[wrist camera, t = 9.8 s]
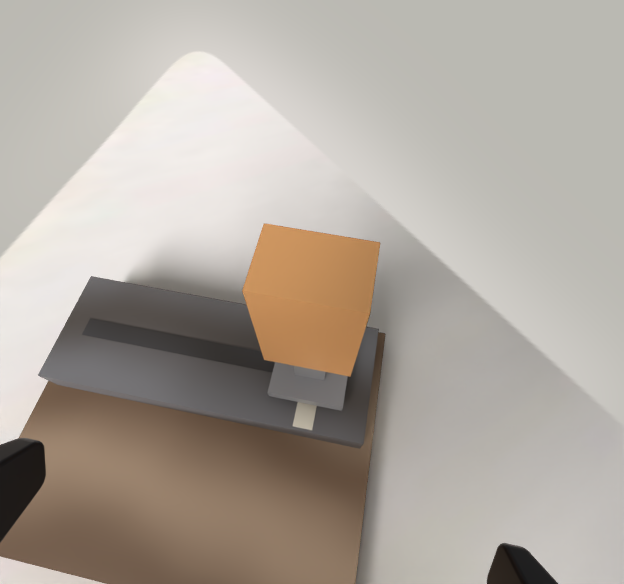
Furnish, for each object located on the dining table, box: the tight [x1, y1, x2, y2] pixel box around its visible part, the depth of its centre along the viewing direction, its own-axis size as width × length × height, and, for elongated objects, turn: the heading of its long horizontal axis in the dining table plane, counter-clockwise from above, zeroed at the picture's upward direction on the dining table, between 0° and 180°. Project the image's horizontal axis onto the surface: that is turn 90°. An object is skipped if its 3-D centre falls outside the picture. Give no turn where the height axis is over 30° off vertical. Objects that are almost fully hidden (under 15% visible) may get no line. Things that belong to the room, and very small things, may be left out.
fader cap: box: [242, 224, 380, 411], centre depth 13 cm, size 3×3×8 cm
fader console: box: [0, 276, 385, 584], centre depth 17 cm, size 12×15×3 cm
